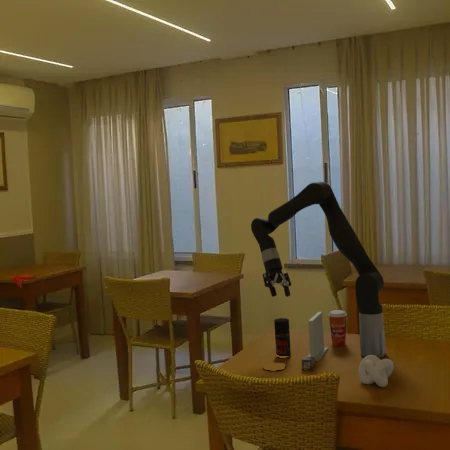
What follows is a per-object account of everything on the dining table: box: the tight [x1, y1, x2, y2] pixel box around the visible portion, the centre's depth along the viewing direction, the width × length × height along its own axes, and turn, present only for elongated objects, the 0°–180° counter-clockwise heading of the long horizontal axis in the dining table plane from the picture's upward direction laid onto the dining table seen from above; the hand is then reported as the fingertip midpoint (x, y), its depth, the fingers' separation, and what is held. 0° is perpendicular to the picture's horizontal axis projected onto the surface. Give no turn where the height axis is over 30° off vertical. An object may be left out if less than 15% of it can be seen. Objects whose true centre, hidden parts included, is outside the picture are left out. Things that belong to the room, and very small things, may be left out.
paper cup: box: [327, 309, 348, 347], centre depth 241 cm, size 8×8×14 cm
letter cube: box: [301, 356, 316, 371], centre depth 213 cm, size 4×4×4 cm
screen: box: [306, 311, 329, 362], centre depth 228 cm, size 5×15×16 cm, turn 156°
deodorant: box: [273, 317, 292, 356], centre depth 229 cm, size 6×6×15 cm
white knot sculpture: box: [357, 355, 395, 388], centre depth 194 cm, size 11×12×9 cm
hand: (281, 296), depth 238 cm, fingers open, 8 cm apart
